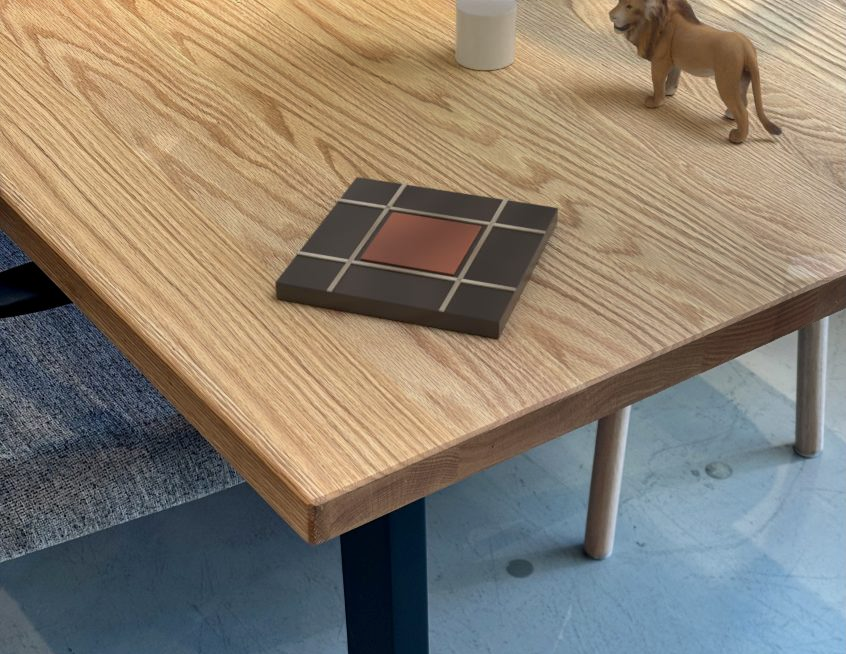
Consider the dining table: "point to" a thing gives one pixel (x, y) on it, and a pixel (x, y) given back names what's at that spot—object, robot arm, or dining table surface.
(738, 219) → the dining table surface
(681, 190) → the dining table surface
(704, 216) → the dining table surface
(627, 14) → the lion figurine
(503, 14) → the white plastic cylinder
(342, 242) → the board
